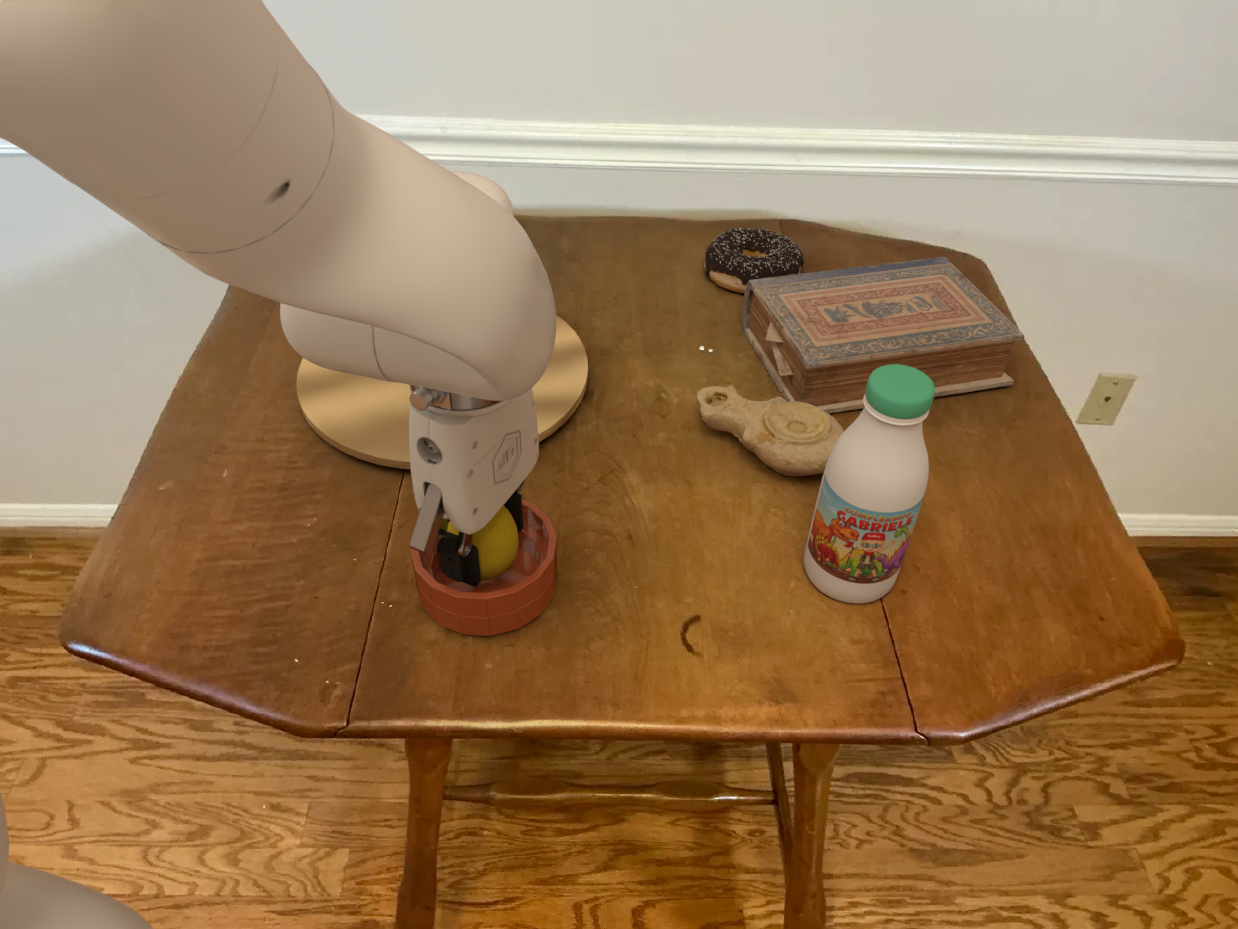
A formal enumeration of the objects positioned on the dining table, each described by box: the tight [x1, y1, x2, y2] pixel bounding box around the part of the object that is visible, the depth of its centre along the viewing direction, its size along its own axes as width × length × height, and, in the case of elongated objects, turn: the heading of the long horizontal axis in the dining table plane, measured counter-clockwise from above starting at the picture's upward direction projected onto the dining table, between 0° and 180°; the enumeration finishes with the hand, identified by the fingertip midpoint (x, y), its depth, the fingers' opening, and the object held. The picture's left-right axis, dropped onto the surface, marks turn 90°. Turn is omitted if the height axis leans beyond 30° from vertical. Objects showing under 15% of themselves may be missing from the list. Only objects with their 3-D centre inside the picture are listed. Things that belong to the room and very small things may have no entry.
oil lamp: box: [695, 384, 845, 477], centre depth 88 cm, size 11×14×5 cm
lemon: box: [447, 505, 519, 581], centre depth 73 cm, size 6×6×8 cm
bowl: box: [409, 498, 559, 637], centre depth 76 cm, size 11×11×5 cm
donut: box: [703, 227, 805, 294], centre depth 113 cm, size 11×12×4 cm
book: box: [741, 256, 1025, 415], centre depth 100 cm, size 17×7×25 cm
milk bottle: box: [803, 364, 935, 605], centre depth 73 cm, size 8×8×20 cm
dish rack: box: [295, 314, 589, 470], centre depth 93 cm, size 30×29×8 cm
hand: (483, 549), depth 74 cm, fingers closed on lemon, 5 cm apart
